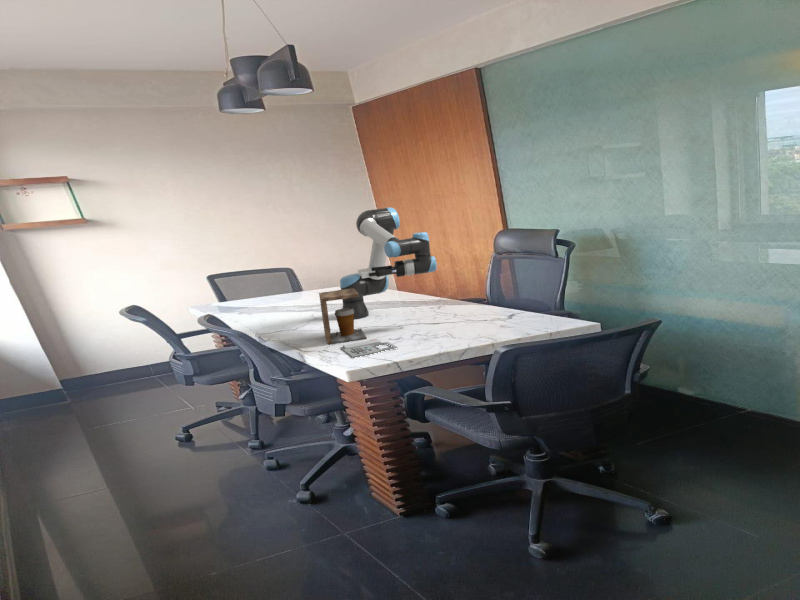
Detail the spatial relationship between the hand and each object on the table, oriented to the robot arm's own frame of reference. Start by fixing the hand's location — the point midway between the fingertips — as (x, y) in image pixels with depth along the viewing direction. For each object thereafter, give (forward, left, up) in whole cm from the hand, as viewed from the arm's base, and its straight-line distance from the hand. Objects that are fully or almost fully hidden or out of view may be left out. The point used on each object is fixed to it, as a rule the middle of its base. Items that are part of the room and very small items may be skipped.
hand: (359, 274), depth 318 cm
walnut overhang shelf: (+10, -4, -29) cm, 31 cm away
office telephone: (+14, +29, -30) cm, 44 cm away
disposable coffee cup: (+8, -5, -28) cm, 30 cm away
